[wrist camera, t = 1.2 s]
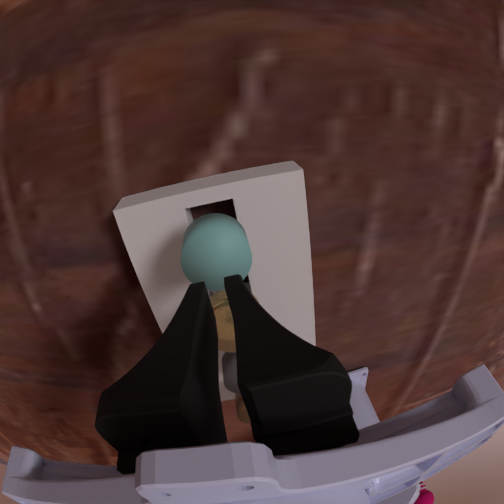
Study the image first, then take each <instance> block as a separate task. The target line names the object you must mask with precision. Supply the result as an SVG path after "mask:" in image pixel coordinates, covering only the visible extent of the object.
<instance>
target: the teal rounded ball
mask: <svg viewBox="0 0 504 504" xmlns="http://www.w3.org/2000/svg"><path fill="white" fill-rule="evenodd" d="M251 265H252V253H251V249H250V246H249V242H248V239H247V235H246V232H245V230H244V228H243V226H242V225H241V224H240V223H239V222H238V221H237V220H236V219H234V218H233V217H231V216H228V215H226V214H221V213H210V214H206V215H203V216H200V217H198V218H197V219H195V220H194V221H193V222H192V223H191V224H190V225H189V226H188V227H187V229H186V231H185V233H184V237H183V243H182V251H181V267H182V270H183V273H184V274H185V276H186V277H187V279H188V280H189V281H190V282H191V283H198V282H203V281H205V285H206V288H207V290H210V291H221V290H225V287H224V277H227V276H232V275H236V274H239V275H241V276H242V279H243V280H244V278H245V277H246V276H247V275H248V273H249V271H250V269H251Z"/></svg>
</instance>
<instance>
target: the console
mask: <svg viewBox="0 0 504 504" xmlns="http://www.w3.org/2000/svg"><path fill="white" fill-rule="evenodd" d="M228 199H233V204H234V209H235V214H236V219H237V221H238V222H239V223H240V224H241V225H242V226H243V228H244V230H245V232H246V235H247V239H248V242H249V246H250V249H251V253H252V265H251V269H250V271H249V273H248V278H249V282H246V283H245V285H246V286H247V288H248V289H249V291H250V292H251V293H252V294H253V295H254V296H255V297H256V298H257V299H258V301H259V304H260V305H261V306H262V307H263V308H264V309H265V310H266V311H267V312H268V313H269V314H270V315H271V316H272V317H273V318H274V319H275V320H276V321H278V322H279V323H280V324H281V325H283V326H284V327H285V328H286V329H288V330H289V331H291V332H292V333H294V334H295V335H297V336H298V337H300V338H302V339H303V340H305V341H307V342H309V343H310V344H312V345H314V346H315V319H314V298H313V280H312V265H311V250H310V237H309V225H308V214H307V203H306V193H305V183H304V173H303V169H302V168H301V167H300V166H298V165H297V164H296V163H295V162H294V161H287V162H281V163H275V164H270V165H264V166H258V167H253V168H248V169H243V170H237V171H232V172H228V173H223V174H218V175H213V176H209V177H204V178H199V179H195V180H191V181H186V182H182V183H178V184H174V185H169V186H165V187H161V188H157V189H153V190H149V191H146V192H142V193H138V194H134V195H130V196H127V197H123V198H122V199H121V200H120V202H119V203H118V204H117V206H116V207H115V209H114V210H113V213H114V216H115V219H116V222H117V224H118V227H119V230H120V233H121V235H122V238H123V241H124V244H125V246H126V249H127V251H128V254H129V257H130V259H131V262H132V264H133V267H134V269H135V272H136V274H137V277H138V279H139V282H140V284H141V286H142V289H143V291H144V293H145V296H146V298H147V300H148V303H149V305H150V307H151V309H152V312H153V314H154V316H155V318H156V320H157V323H158V325H159V327H160V329H161V331H162V333H163V332H164V331H165V329H166V328H167V326H168V324H169V323H170V321H171V320H172V318H173V316H174V314H175V313H176V311H177V309H178V307H179V305H180V303H181V301H182V299H183V297H184V295H185V293H186V291H187V289H188V287H189V285H190V284H193V283H191V282H190V281H189V280H188V279H187V277H186V276H185V274H184V273H183V270H182V267H181V251H182V243H183V237H184V233H185V231H186V229H187V227H188V226H189V225H190V224H191V223H192V222H193V217H192V213H191V209H190V208H191V207H195V206H200V205H204V204H209V203H214V202H218V201H223V200H228ZM207 291H208V295H209V298H210V297H211V296H212V295H214V294H215V293H217V291H210V290H207ZM224 353H225V352H224V351H221V350H218V364H219V391H220V398H221V401H225V400H231V399H235V394H236V393H233V392H231V391H229V390H228V389H227V388H226V387H225V385H224V381H223V370H222V357H223V355H224Z"/></svg>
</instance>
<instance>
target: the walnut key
mask: <svg viewBox="0 0 504 504" xmlns="http://www.w3.org/2000/svg"><path fill="white" fill-rule="evenodd" d="M235 401H236V409H237V416H238V419H239V420H240V421H242V422H244V423H248V424H251V421H250V418H249V415H248V412H247V410H246V407H245V404H244V401H243V399H242V396H241V394H235Z"/></svg>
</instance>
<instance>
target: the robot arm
mask: <svg viewBox="0 0 504 504" xmlns="http://www.w3.org/2000/svg"><path fill="white" fill-rule="evenodd" d="M224 287H225V291H226V295H227V299H228V303H229V306H230V310H231V314H232V317H233V323H234V333H235V345H236V360H237V385H238V387H239V390H240V393H241V396H242V399H243V401H244V404H245V407H246V410H247V412H248V415H249V418H250V421H251V426H252V432H253V437H254V440H255V441H256V442H251V441H238V442H227V436H226V431H225V425H224V419H223V412H222V405H221V398H220V391H219V364H218V332H217V324H216V317H215V314H214V311H213V308H212V304H211V301H210V298H209V295H208V291H207V288H206V285H205V281H203V282H198V283H193V284H190V285H189V287H188V289H187V291H186V293H185V295H184V297H183V299H182V301H181V303H180V305H179V307H178V309H177V311H176V313H175V314H174V316H173V318H172V320H171V321H170V323H169V324H168V326H167V328H166V329H165V331H164V332H163V334H162V335H161V337H160V338H159V340H158V341H157V342H156V343H155V345H154V346H153V347H152V348H151V350H150V351H149V352H148V353H147V354H146V355H145V356H144V357H143V358H142V359H141V360H140V361H139V362H138V363H137V364H136V365H135V366H134V367H133V368H132V369H131V370H130V371H129V372H128V373H127V374H125V375H124V376H123V377H122V378H121V379H119V380H118V381H117V382H115V383H114V384H113V385H111V386H110V387H108V388H107V389H106V390H104V391H103V392H102V394H101V397H100V400H99V405H98V410H97V415H96V421H95V428H96V430H97V432H98V433H99V434H100V435H101V436H102V437H103V438H104V439H105V440H106V441H107V442H108V443H109V444H110V445H111V446H113V447H114V448H115V449H116V450H117V451H118V461H117V466H108V465H92V464H80V463H71V462H62V461H55V460H48V459H43V457H42V456H40V455H39V454H38V453H37V452H35V451H33V450H31V449H28V448H22V447H17V446H12V448H11V452H10V455H9V459H8V463H7V468H6V472H5V477H4V481H3V486H2V493H3V494H4V495H6V496H8V497H10V498H11V499H13V500H15V501H16V502H18V503H20V504H414V502H415V501H416V499H417V498H418V496H419V494H420V492H419V490H420V484H419V483H420V482H421V481H423V480H425V479H427V478H429V477H430V476H432V475H434V474H436V473H438V472H439V471H441V470H443V469H444V468H446V467H448V466H449V465H451V464H453V463H454V462H456V461H458V460H459V459H461V458H462V457H464V456H465V455H467V454H469V453H470V452H472V451H473V450H475V449H477V448H478V447H480V446H481V445H483V444H484V443H486V442H487V441H488V440H489V439H490V438H491V437H492V436H493V435H494V434H495V433H496V432H497V430H498V429H499V428H500V427H501V426H502V425H503V424H504V392H503V390H502V389H501V387H500V386H499V384H498V383H497V382H496V380H495V379H494V377H493V376H492V375H491V373H490V372H489V370H488V369H487V368H486V366H485V365H484V364H482V365H480V366H478V367H476V368H475V369H473V370H471V371H469V372H467V373H465V374H464V375H462V376H461V377H460V378H459V379H458V380H457V381H456V382H455V384H454V386H453V389H452V390H451V391H449V392H447V393H446V394H444V395H441V396H439V397H437V398H435V399H433V400H431V401H429V402H427V403H425V404H422V405H420V406H418V407H416V408H413V409H411V410H409V411H407V412H404V413H402V414H399V415H397V416H394V417H392V418H389V419H387V420H384V421H381V422H380V421H379V419H378V417H377V415H376V413H375V410H374V408H373V406H372V404H371V402H370V400H369V397H368V395H367V393H366V391H365V385H366V380H367V375H368V368H367V367H364V368H361V369H357V370H354V371H351V372H348V373H347V371H346V370H345V368H344V367H343V365H342V364H341V363H340V361H339V360H338V359H337V357H336V356H335V355H334V354H333V353H331V352H328V351H326V350H323V349H321V348H319V347H316V346H314V345H312V344H310V343H309V342H307V341H305V340H303V339H302V338H300V337H298V336H297V335H295V334H294V333H292V332H291V331H289V330H288V329H286V328H285V327H284V326H283V325H281V324H280V323H279V322H278V321H276V320H275V319H274V318H273V317H272V316H271V315H270V314H269V313H268V312H267V311H266V310H265V309H264V308H263V307H262V306H261V305H260V304H259V303H258V301H257V300H256V299H255V298H254V296H253V295H252V294H251V292H250V291H249V289H248V288H247V286H246V285H245V283H244V281H243V279H242V276H241V275H239V274H236V275H232V276H227V277H224Z"/></svg>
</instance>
